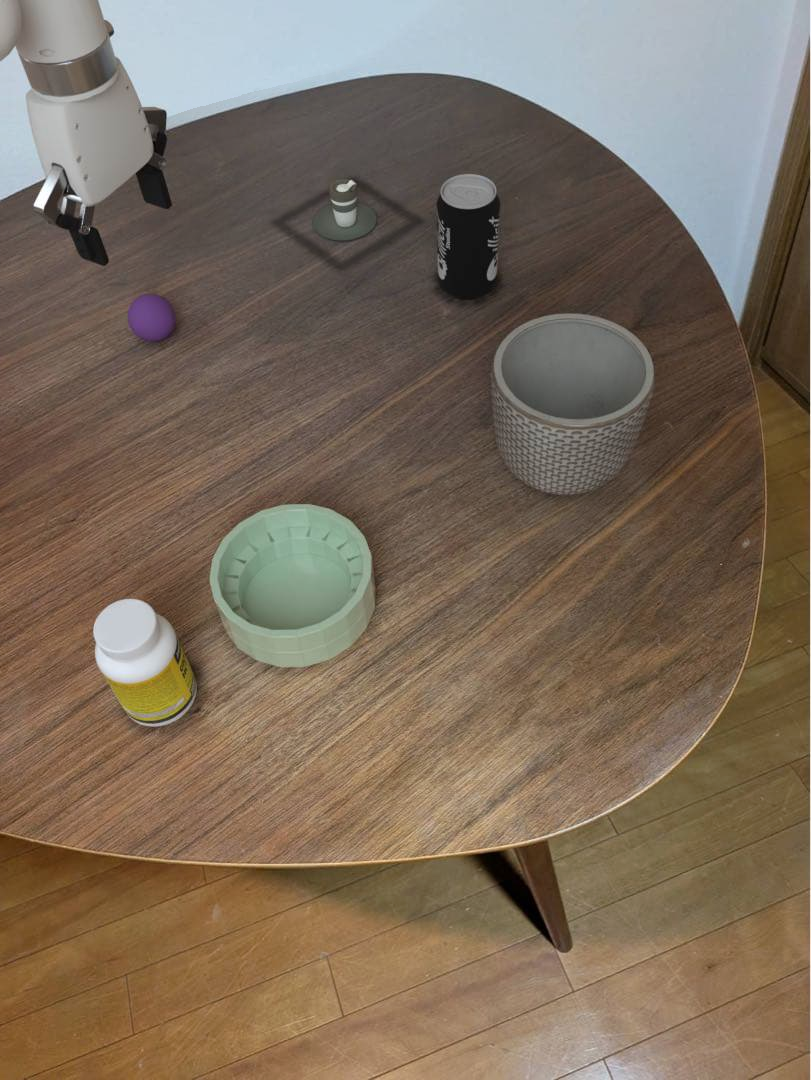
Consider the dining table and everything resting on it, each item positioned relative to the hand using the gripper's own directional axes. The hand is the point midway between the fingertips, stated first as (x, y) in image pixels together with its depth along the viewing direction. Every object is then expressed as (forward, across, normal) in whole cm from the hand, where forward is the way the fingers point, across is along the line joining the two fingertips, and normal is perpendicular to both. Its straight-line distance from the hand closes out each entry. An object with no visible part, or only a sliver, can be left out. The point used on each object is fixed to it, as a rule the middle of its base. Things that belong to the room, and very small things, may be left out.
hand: (127, 231), depth 97 cm
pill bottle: (+13, +35, +28) cm, 46 cm away
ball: (+13, 0, 0) cm, 13 cm away
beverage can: (+14, -23, +26) cm, 37 cm away
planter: (+14, -3, +46) cm, 48 cm away
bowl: (+13, +22, +33) cm, 42 cm away
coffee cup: (+14, -26, +8) cm, 30 cm away
